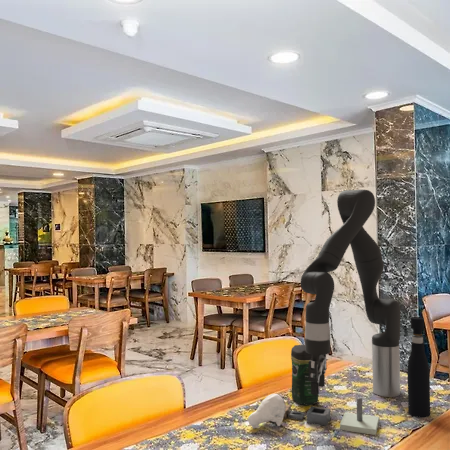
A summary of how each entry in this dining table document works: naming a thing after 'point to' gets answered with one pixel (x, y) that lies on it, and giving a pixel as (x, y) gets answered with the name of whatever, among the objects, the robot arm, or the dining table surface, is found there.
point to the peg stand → (359, 421)
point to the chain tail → (293, 414)
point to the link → (318, 416)
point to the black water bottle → (418, 373)
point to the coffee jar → (301, 376)
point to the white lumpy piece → (268, 411)
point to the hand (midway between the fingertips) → (318, 390)
